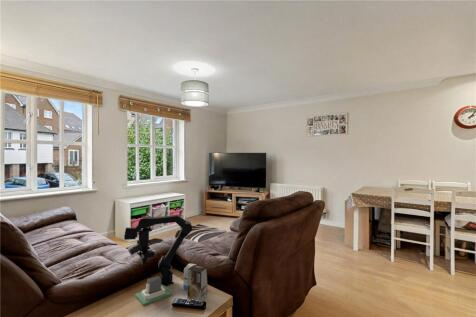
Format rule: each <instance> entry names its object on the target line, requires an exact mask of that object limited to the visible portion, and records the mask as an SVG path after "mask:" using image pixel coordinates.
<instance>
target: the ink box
mask: <svg viewBox="0 0 476 317" xmlns="http://www.w3.org/2000/svg"><path fill="white" fill-rule="evenodd" d="M193 265H197V264H195V263H188V264H187V265H186V266H185V267H184V269H183V286H182V287H183V290H184V291H187V290H188V269H189V268H190V267H191V266H193Z"/></svg>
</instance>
